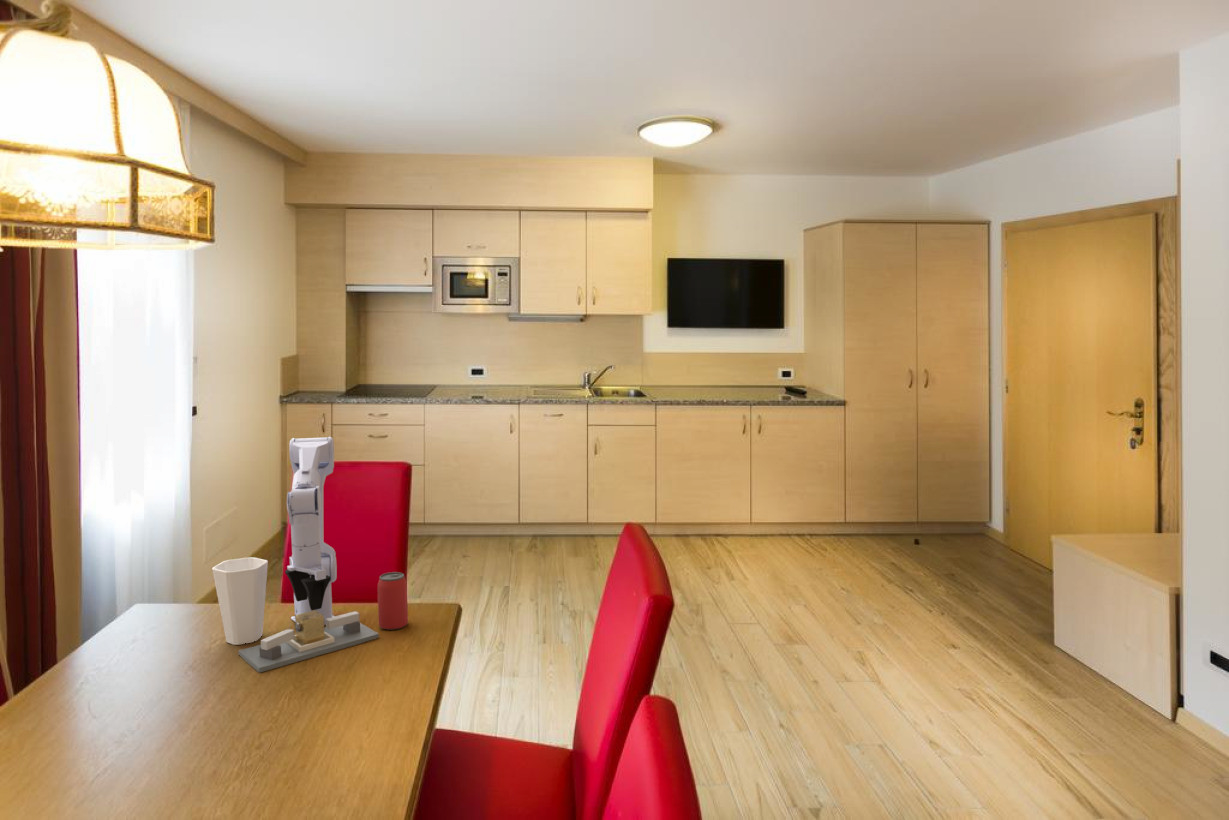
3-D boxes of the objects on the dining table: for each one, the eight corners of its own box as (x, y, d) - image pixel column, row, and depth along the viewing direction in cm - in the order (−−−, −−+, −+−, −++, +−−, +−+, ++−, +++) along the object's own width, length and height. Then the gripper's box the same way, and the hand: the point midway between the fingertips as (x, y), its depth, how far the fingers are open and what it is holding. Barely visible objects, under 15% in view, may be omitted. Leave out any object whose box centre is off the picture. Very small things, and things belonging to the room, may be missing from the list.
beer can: (414, 623, 188) (412, 574, 186) (392, 633, 182) (390, 581, 181) (394, 618, 191) (392, 569, 190) (372, 627, 186) (370, 577, 184)
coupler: (293, 642, 174) (292, 615, 174) (318, 635, 178) (317, 609, 178) (301, 648, 171) (300, 621, 171) (327, 641, 175) (326, 614, 174)
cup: (255, 648, 174) (251, 572, 172) (208, 648, 174) (204, 572, 172) (277, 629, 185) (274, 557, 183) (234, 629, 185) (230, 557, 183)
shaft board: (238, 655, 170) (237, 632, 170) (354, 623, 188) (353, 603, 187) (259, 672, 162) (257, 649, 161) (378, 638, 179) (378, 616, 179)
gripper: (274, 540, 175) (277, 600, 176) (300, 554, 164) (303, 618, 166) (306, 534, 180) (309, 593, 181) (334, 547, 169) (336, 609, 171)
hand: (308, 604), depth 174 cm, fingers open, 7 cm apart
